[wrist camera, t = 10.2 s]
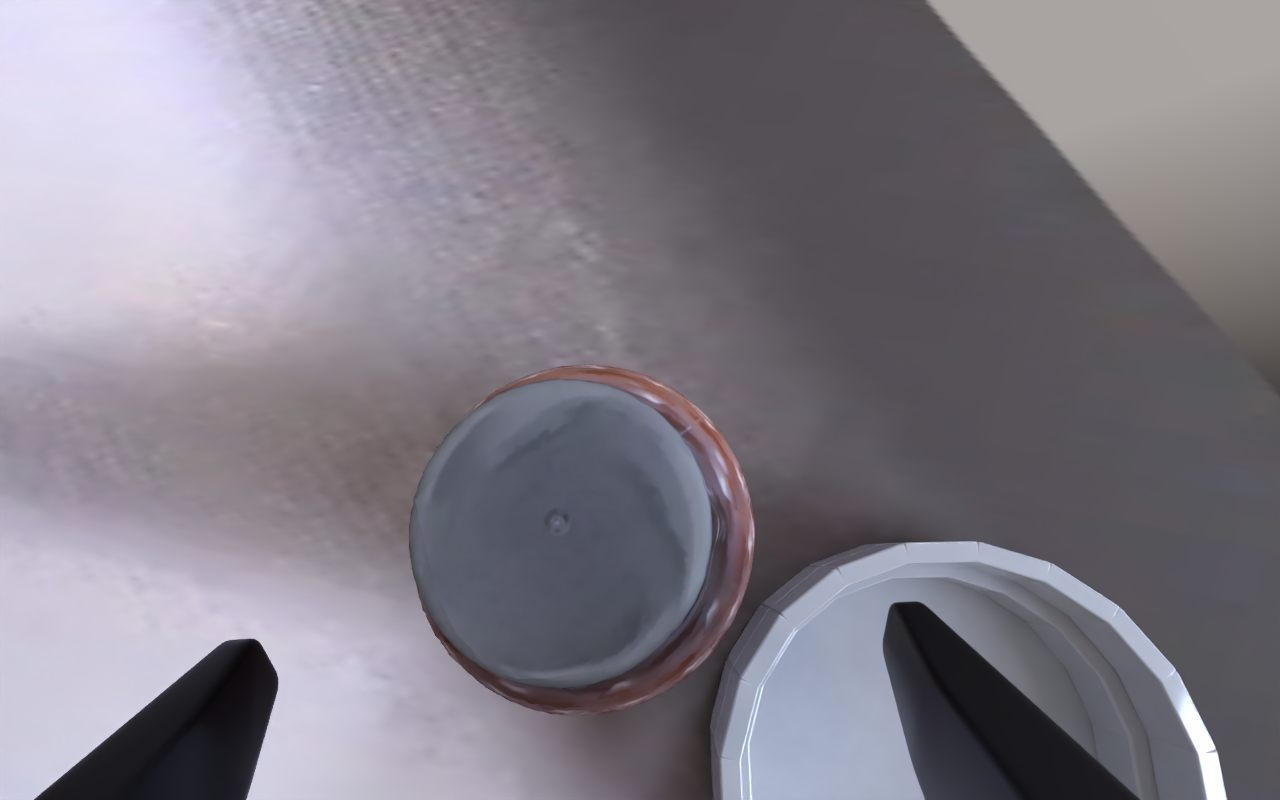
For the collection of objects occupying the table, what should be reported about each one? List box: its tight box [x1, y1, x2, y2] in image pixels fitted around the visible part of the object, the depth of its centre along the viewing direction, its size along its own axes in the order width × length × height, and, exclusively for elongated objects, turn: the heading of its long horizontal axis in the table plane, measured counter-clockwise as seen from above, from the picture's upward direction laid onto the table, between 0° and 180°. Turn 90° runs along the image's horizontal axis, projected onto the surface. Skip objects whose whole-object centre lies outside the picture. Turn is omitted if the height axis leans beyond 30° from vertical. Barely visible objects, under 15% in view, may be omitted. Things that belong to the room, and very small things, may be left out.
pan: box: [710, 541, 1227, 800], centre depth 16 cm, size 11×11×4 cm
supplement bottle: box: [409, 365, 755, 716], centre depth 14 cm, size 6×6×11 cm
